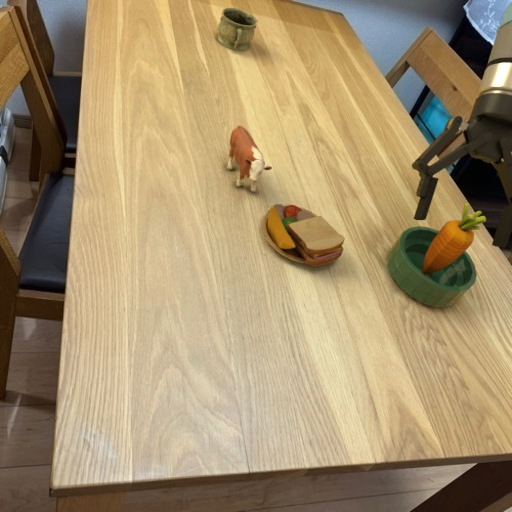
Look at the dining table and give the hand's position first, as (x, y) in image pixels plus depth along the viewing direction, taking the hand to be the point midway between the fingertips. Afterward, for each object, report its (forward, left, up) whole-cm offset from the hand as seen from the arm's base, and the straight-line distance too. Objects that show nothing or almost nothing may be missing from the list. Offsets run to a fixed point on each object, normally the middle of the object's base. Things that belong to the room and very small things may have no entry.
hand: (459, 233), depth 76 cm
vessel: (+45, -59, -11) cm, 75 cm away
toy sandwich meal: (+22, +1, -11) cm, 25 cm away
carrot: (0, 0, -10) cm, 10 cm away
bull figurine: (+34, -9, -11) cm, 37 cm away
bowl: (0, 0, -11) cm, 11 cm away
